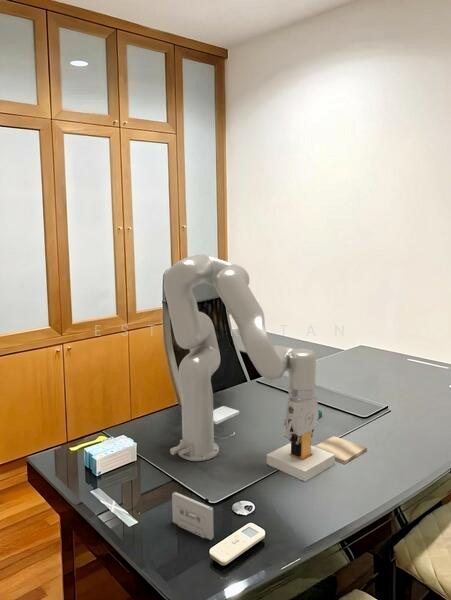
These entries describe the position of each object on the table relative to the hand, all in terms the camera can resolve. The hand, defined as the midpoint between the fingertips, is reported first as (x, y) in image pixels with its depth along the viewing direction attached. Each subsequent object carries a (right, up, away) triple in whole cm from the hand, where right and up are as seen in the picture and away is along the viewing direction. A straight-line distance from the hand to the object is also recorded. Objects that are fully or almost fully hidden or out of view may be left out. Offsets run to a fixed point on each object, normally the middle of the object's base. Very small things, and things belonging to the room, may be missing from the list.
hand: (301, 451), depth 154 cm
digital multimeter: (+5, +1, +32) cm, 32 cm away
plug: (0, -4, +1) cm, 4 cm away
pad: (+13, -2, +9) cm, 16 cm away
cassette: (-30, -10, -30) cm, 43 cm away
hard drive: (-24, +2, +37) cm, 44 cm away
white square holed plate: (0, -4, +1) cm, 4 cm away
